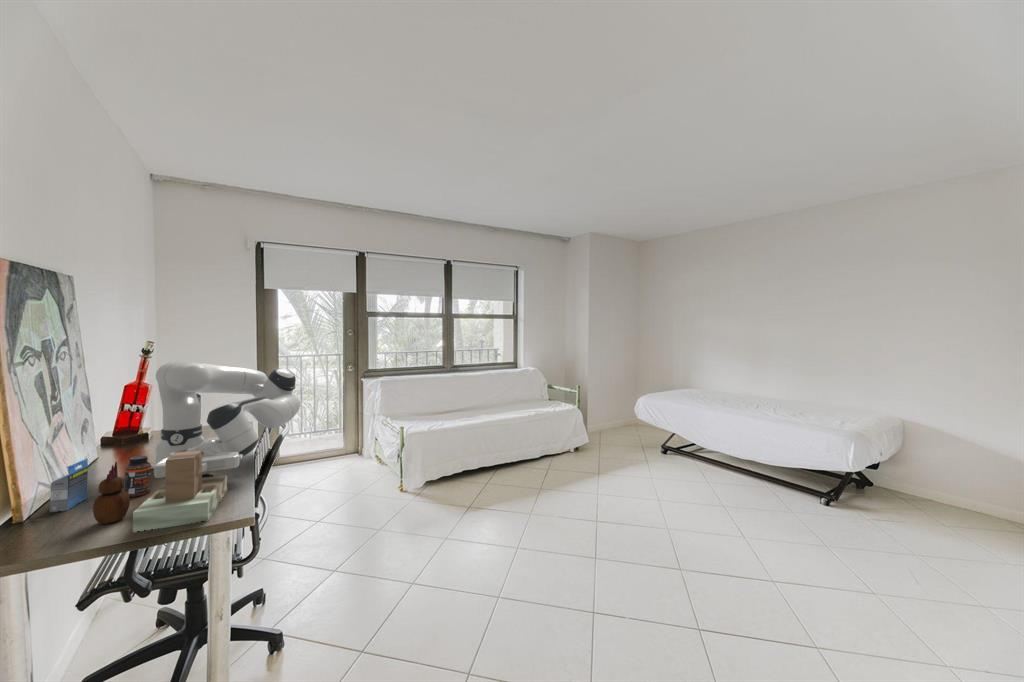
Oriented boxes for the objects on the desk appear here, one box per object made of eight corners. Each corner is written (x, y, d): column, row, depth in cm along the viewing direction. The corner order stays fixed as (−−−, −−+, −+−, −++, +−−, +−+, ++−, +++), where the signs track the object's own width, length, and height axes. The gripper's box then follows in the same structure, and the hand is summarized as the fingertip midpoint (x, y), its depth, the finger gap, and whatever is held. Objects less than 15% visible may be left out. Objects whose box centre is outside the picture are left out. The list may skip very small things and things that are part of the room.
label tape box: (70, 500, 117) (70, 459, 117) (88, 498, 118) (88, 457, 118) (48, 513, 109) (49, 468, 108) (68, 510, 110) (69, 466, 110)
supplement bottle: (134, 498, 119) (134, 460, 119) (119, 497, 120) (119, 459, 120) (156, 491, 124) (156, 455, 124) (141, 489, 126) (141, 453, 126)
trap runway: (166, 498, 119) (166, 481, 119) (226, 490, 125) (227, 474, 125) (132, 532, 98) (132, 512, 98) (207, 521, 104) (207, 502, 104)
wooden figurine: (114, 515, 107) (114, 459, 107) (134, 515, 107) (135, 460, 107) (86, 527, 101) (86, 467, 101) (108, 527, 100) (108, 468, 100)
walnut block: (175, 491, 111) (175, 452, 111) (201, 488, 114) (202, 449, 114) (165, 502, 104) (165, 460, 104) (193, 498, 107) (194, 457, 107)
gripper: (244, 463, 130) (236, 476, 118) (164, 474, 121) (146, 489, 109) (244, 444, 130) (236, 455, 118) (163, 453, 121) (146, 466, 109)
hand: (192, 471), depth 113 cm, fingers closed
